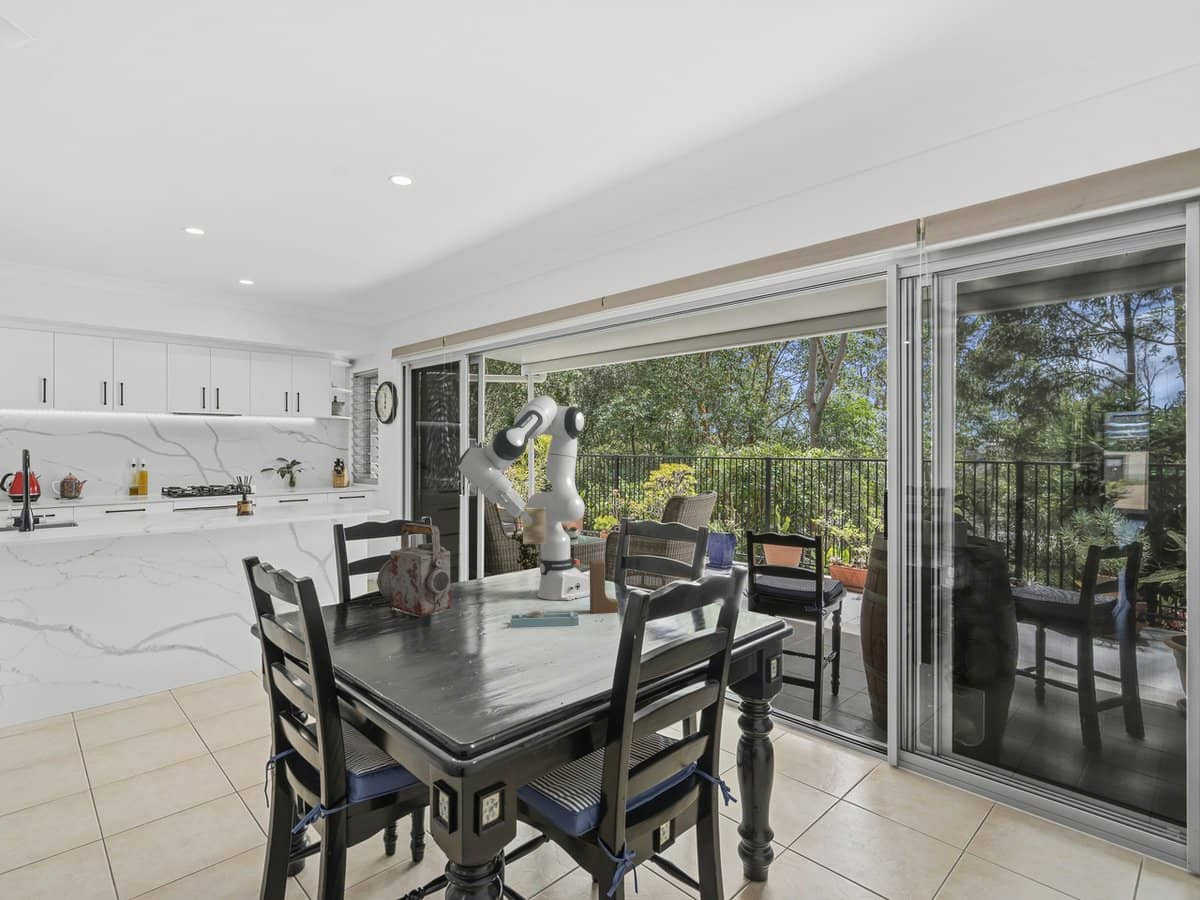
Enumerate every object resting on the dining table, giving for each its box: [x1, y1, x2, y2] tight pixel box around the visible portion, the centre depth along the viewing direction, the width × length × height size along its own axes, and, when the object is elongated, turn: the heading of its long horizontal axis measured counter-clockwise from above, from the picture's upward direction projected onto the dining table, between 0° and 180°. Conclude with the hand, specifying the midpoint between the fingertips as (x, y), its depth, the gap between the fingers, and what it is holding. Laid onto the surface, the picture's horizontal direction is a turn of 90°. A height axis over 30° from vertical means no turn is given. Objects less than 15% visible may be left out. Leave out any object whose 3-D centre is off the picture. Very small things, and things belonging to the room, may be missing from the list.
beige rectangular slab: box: [522, 507, 546, 545], centre depth 199 cm, size 7×2×11 cm, turn 94°
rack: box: [508, 611, 581, 630], centre depth 200 cm, size 22×9×4 cm, turn 94°
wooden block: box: [589, 559, 619, 615], centre depth 214 cm, size 9×4×18 cm, turn 101°
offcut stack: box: [524, 610, 544, 618], centre depth 200 cm, size 6×2×4 cm, turn 94°
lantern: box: [376, 522, 452, 616], centre depth 222 cm, size 16×27×30 cm, turn 51°
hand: (531, 521), depth 199 cm, fingers closed on beige rectangular slab, 2 cm apart
